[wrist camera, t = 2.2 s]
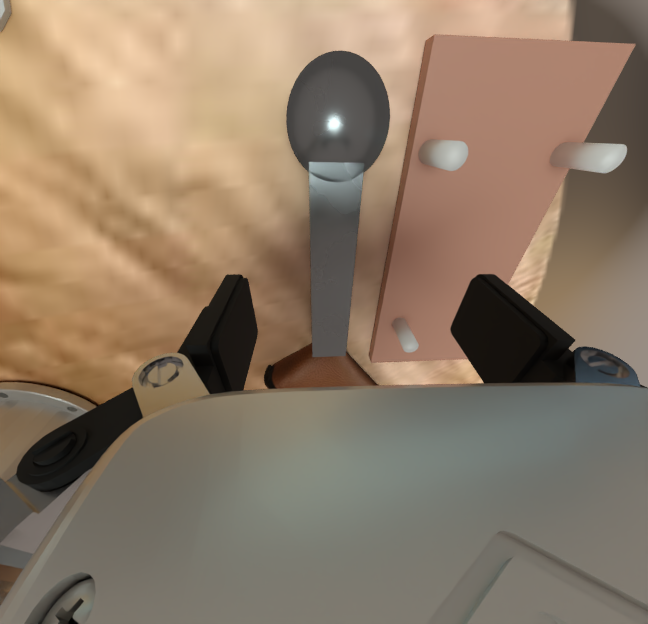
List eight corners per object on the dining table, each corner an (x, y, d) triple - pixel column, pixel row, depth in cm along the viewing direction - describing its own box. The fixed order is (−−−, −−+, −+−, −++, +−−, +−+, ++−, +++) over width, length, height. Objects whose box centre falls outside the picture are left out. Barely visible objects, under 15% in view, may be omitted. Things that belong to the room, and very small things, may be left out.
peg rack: (463, 352, 26) (485, 383, 22) (369, 355, 25) (378, 388, 22) (614, 49, 13) (720, 21, 9) (425, 40, 12) (470, 7, 9)
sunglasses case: (411, 410, 32) (401, 467, 28) (366, 403, 36) (352, 451, 33) (329, 327, 22) (299, 397, 19) (283, 333, 27) (252, 389, 24)
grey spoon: (351, 332, 23) (357, 355, 21) (301, 333, 23) (300, 357, 20) (381, 68, 13) (399, 53, 10) (286, 64, 12) (281, 48, 10)
